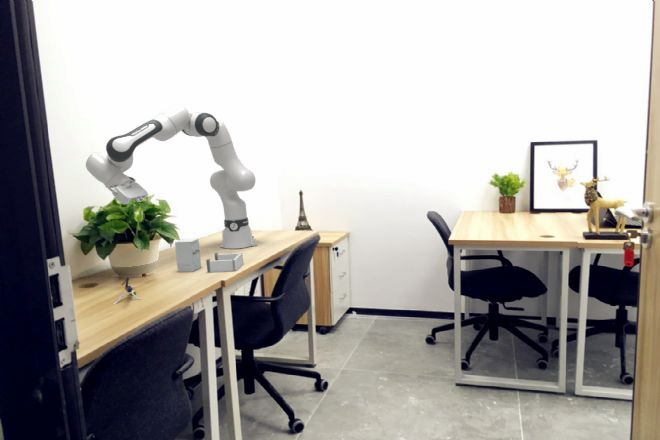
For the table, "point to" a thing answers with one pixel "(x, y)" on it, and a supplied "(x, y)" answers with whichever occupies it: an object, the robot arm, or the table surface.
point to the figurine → (128, 290)
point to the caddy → (225, 262)
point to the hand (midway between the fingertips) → (145, 206)
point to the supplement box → (188, 255)
